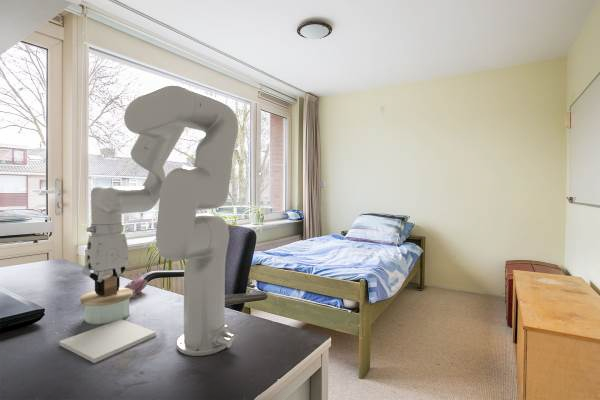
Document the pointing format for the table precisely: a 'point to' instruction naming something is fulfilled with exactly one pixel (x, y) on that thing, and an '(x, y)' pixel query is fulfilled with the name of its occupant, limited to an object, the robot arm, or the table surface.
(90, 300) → the lid
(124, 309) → the bowl
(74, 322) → the table surface
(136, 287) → the video game controller
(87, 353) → the mat
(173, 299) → the table surface
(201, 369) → the table surface
